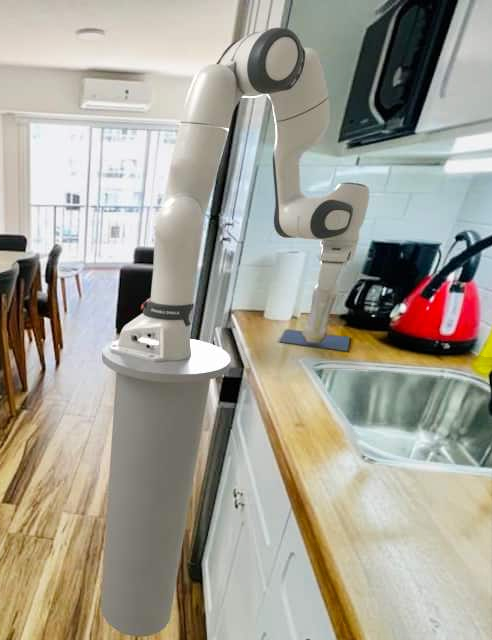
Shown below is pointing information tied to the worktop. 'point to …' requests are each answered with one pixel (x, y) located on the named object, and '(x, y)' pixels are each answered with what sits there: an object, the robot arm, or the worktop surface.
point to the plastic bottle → (319, 317)
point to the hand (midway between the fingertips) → (322, 303)
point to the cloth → (328, 343)
